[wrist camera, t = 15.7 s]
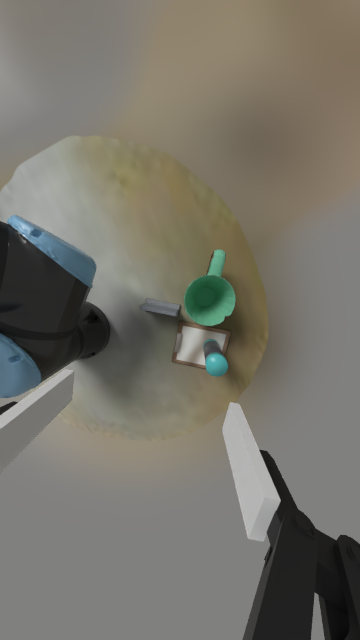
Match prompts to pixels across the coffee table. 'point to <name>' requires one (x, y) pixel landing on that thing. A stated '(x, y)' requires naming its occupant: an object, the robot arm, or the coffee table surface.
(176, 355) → the clipboard
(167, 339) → the coffee table surface
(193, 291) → the mug
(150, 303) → the gray bookend
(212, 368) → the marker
